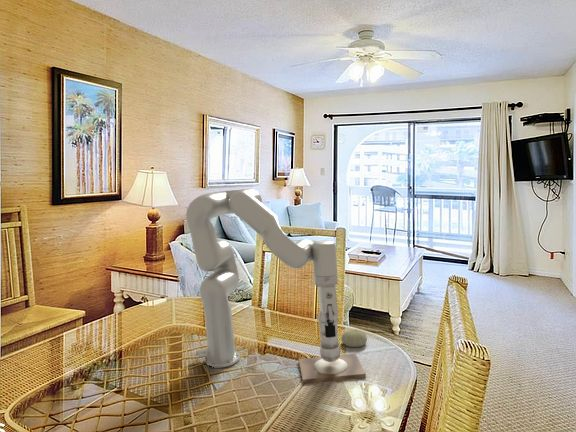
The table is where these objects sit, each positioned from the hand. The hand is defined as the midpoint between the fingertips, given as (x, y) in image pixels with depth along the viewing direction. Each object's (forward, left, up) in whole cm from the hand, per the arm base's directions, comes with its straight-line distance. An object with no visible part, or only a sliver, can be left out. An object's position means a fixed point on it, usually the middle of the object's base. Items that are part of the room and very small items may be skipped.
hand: (328, 332), depth 137 cm
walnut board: (0, 0, -13) cm, 13 cm away
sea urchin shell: (+12, +18, -13) cm, 25 cm away
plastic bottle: (0, 0, -10) cm, 10 cm away
